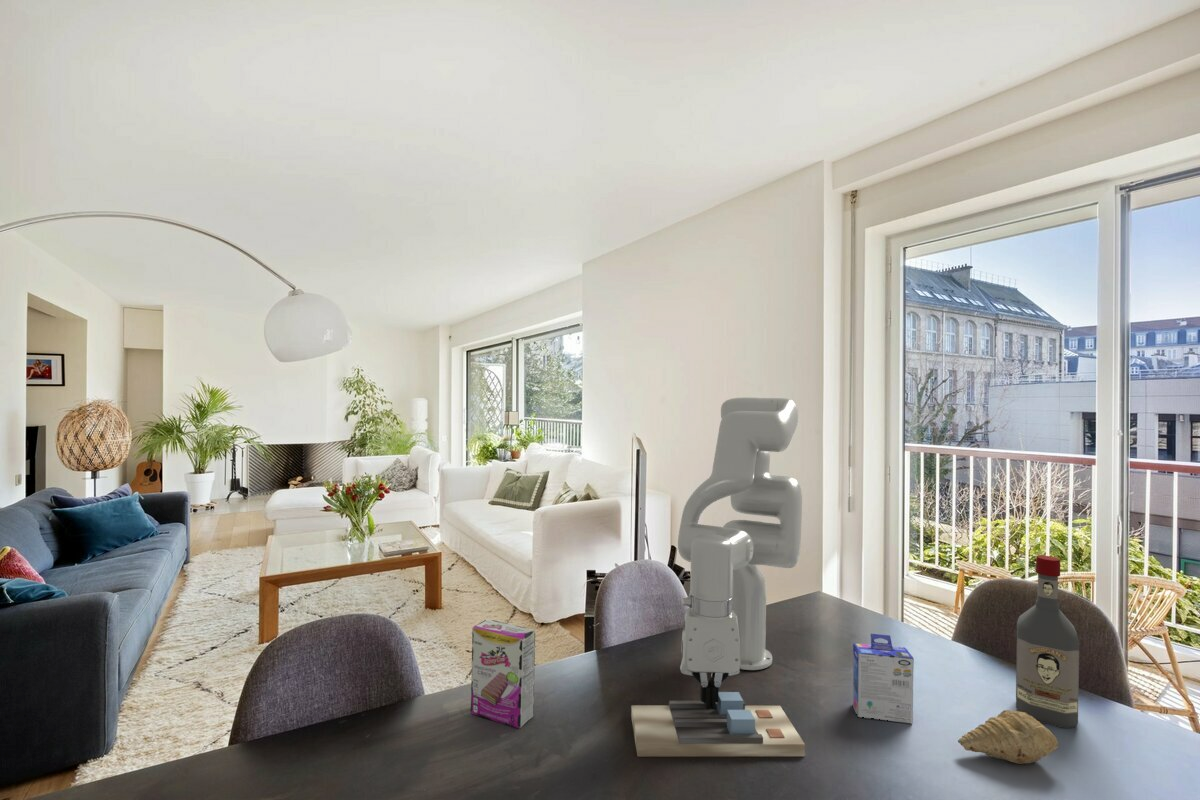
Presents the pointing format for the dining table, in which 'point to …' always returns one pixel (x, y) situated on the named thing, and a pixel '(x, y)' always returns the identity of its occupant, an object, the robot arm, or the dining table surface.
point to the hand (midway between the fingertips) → (709, 705)
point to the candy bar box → (503, 672)
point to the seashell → (1011, 738)
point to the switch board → (711, 731)
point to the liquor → (1047, 655)
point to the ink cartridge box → (883, 681)
